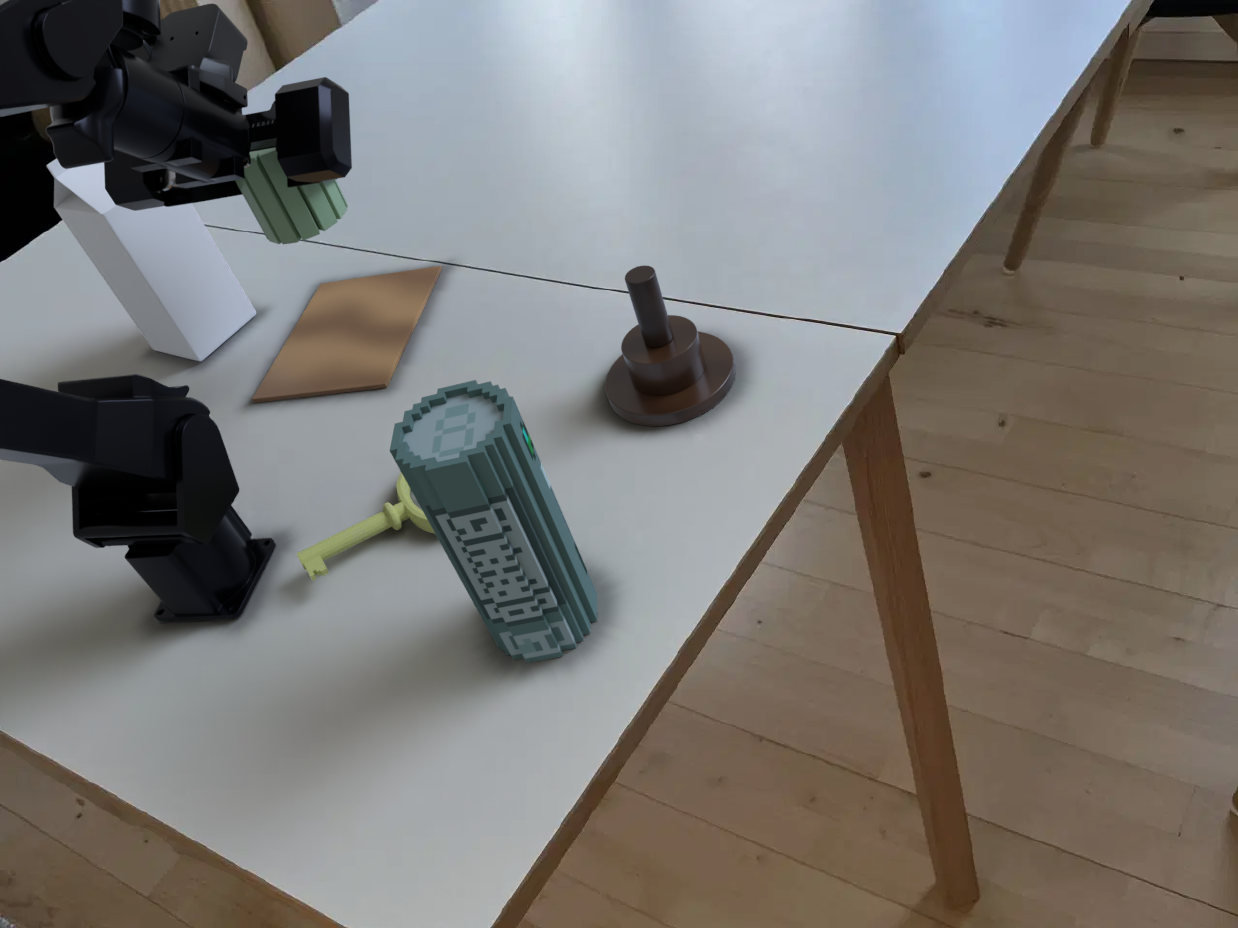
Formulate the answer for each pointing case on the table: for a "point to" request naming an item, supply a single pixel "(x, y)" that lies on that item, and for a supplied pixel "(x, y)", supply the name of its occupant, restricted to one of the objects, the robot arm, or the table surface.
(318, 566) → the key
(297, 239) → the ring
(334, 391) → the cork mat
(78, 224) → the milk carton
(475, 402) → the can
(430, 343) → the table surface
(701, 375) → the ring holder
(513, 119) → the table surface
